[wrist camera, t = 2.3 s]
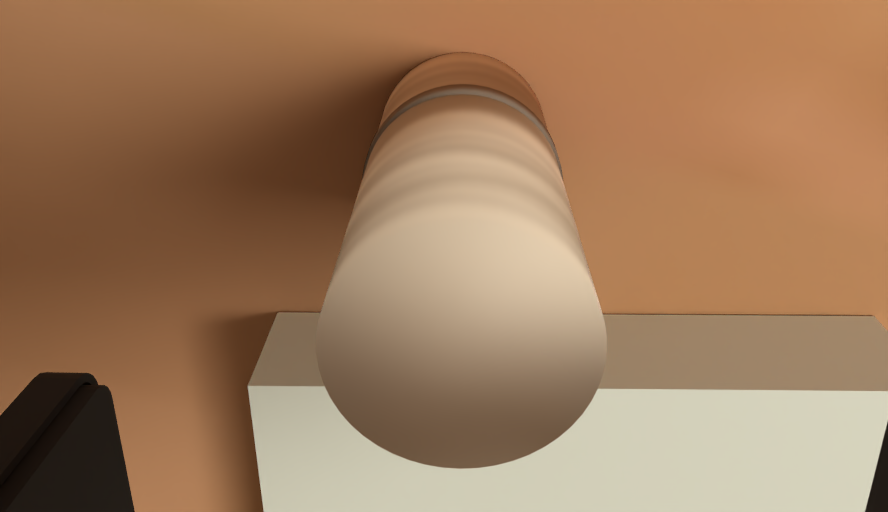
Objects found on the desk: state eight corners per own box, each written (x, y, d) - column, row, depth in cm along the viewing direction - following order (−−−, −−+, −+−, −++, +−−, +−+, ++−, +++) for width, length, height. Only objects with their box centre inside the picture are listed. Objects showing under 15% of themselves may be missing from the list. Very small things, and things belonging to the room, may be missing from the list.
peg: (375, 50, 20) (300, 215, 11) (551, 50, 20) (623, 216, 11) (382, 211, 22) (322, 469, 13) (542, 212, 21) (599, 472, 12)
